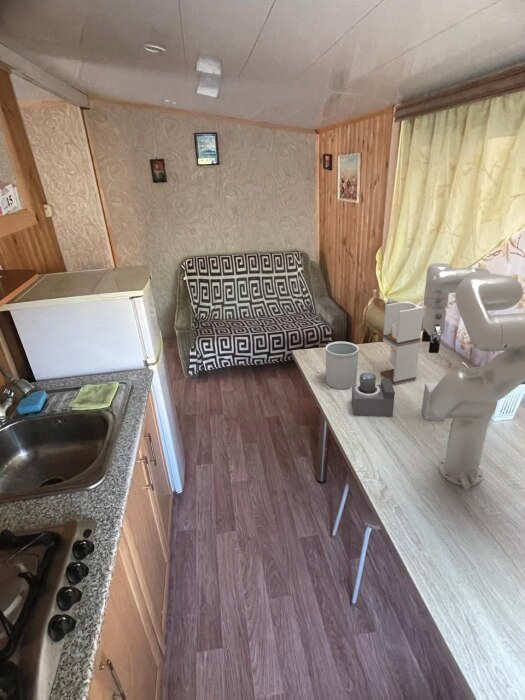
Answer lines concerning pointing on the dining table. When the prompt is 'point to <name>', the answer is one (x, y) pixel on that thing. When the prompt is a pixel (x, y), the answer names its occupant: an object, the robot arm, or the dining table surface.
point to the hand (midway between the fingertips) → (429, 346)
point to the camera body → (374, 400)
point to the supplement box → (426, 403)
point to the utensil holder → (341, 364)
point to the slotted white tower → (402, 340)
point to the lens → (367, 383)
